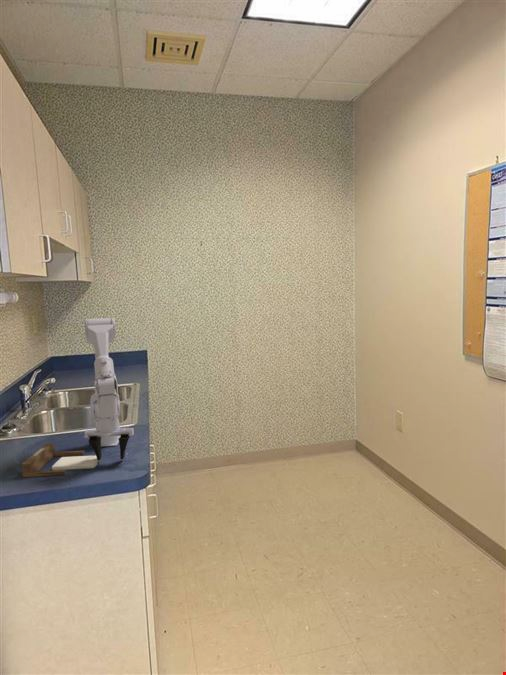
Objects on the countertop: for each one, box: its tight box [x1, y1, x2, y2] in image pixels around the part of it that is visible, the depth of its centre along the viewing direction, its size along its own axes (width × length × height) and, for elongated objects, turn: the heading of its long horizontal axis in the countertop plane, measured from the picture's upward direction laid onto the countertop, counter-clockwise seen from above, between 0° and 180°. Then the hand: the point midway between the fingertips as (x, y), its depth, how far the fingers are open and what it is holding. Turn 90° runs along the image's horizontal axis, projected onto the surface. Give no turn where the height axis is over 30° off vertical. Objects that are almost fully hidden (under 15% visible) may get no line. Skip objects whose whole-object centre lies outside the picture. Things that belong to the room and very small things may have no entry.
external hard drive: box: [51, 455, 103, 471], centre depth 134 cm, size 2×8×12 cm
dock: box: [21, 442, 85, 478], centre depth 134 cm, size 17×12×4 cm
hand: (111, 458), depth 135 cm, fingers open, 6 cm apart
